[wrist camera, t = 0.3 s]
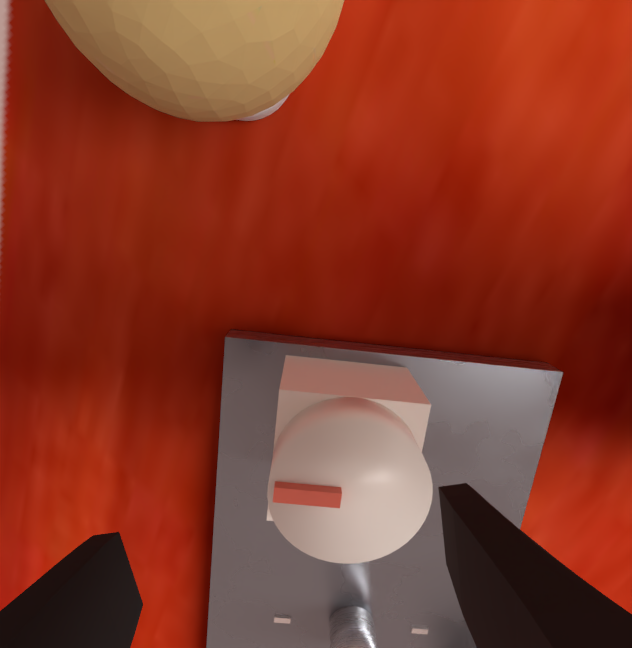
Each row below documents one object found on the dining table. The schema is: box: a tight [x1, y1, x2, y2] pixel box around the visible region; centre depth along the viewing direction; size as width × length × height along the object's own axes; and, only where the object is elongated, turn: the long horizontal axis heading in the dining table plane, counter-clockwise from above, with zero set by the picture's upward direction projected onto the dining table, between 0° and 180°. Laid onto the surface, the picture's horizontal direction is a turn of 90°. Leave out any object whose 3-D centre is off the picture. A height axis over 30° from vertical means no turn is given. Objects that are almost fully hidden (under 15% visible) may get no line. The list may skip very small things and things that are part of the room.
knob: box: [267, 355, 433, 564], centre depth 15 cm, size 5×5×5 cm
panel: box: [206, 329, 563, 648], centre depth 18 cm, size 14×18×4 cm
